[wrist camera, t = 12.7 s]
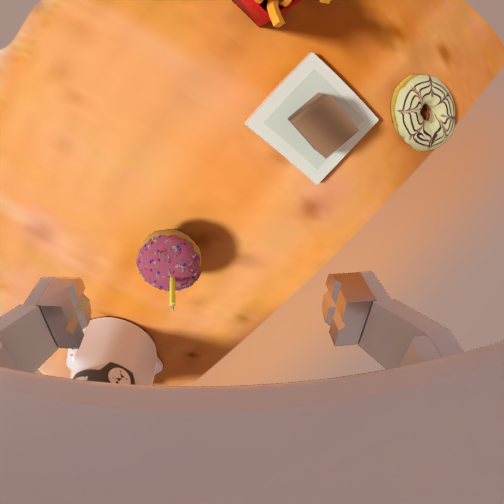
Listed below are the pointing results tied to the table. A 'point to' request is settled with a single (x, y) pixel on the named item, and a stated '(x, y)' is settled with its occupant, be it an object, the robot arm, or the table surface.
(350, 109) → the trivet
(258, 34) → the table surface
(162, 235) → the cupcake
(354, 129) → the walnut cube
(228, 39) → the table surface
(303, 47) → the table surface
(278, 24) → the french fries
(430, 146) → the decorated donut
